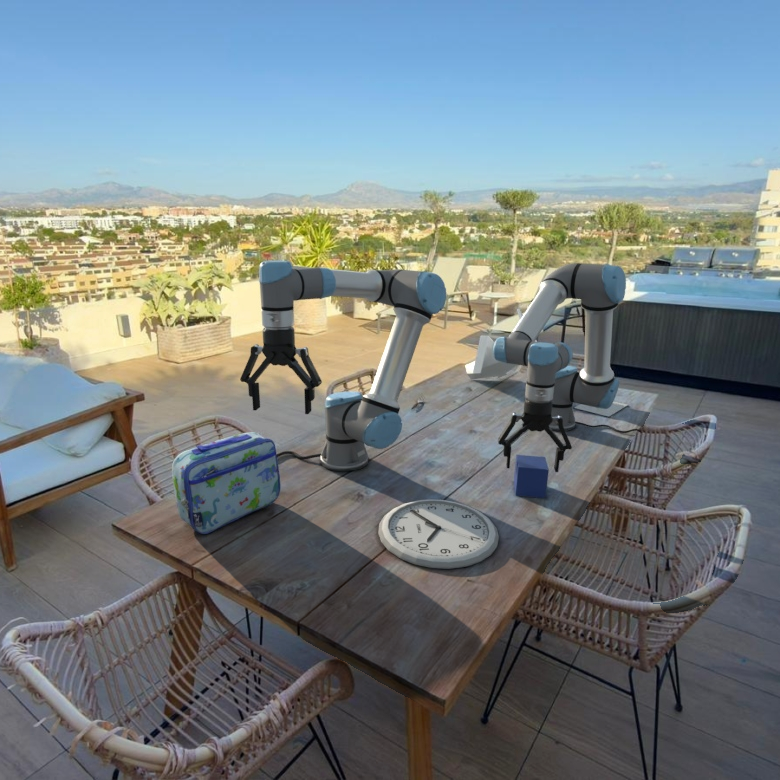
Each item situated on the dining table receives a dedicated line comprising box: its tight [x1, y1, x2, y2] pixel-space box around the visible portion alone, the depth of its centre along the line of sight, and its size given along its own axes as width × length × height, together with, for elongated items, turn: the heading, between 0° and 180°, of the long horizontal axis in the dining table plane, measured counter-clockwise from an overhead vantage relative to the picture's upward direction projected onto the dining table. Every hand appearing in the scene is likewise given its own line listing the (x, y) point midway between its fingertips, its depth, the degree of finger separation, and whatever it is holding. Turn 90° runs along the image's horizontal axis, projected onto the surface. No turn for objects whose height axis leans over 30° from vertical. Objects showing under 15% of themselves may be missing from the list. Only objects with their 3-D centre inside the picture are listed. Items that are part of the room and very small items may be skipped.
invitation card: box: [573, 400, 629, 418], centre depth 226 cm, size 21×1×15 cm
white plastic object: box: [464, 308, 538, 380], centre depth 255 cm, size 37×45×31 cm
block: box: [513, 454, 550, 499], centre depth 152 cm, size 8×9×9 cm
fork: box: [411, 395, 426, 410], centre depth 224 cm, size 3×16×2 cm, turn 160°
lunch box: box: [171, 431, 281, 535], centre depth 134 cm, size 26×11×21 cm, turn 134°
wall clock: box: [377, 498, 500, 570], centre depth 131 cm, size 30×2×30 cm
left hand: (282, 410), depth 132 cm, fingers open, 13 cm apart
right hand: (531, 468), depth 152 cm, fingers open, 13 cm apart
